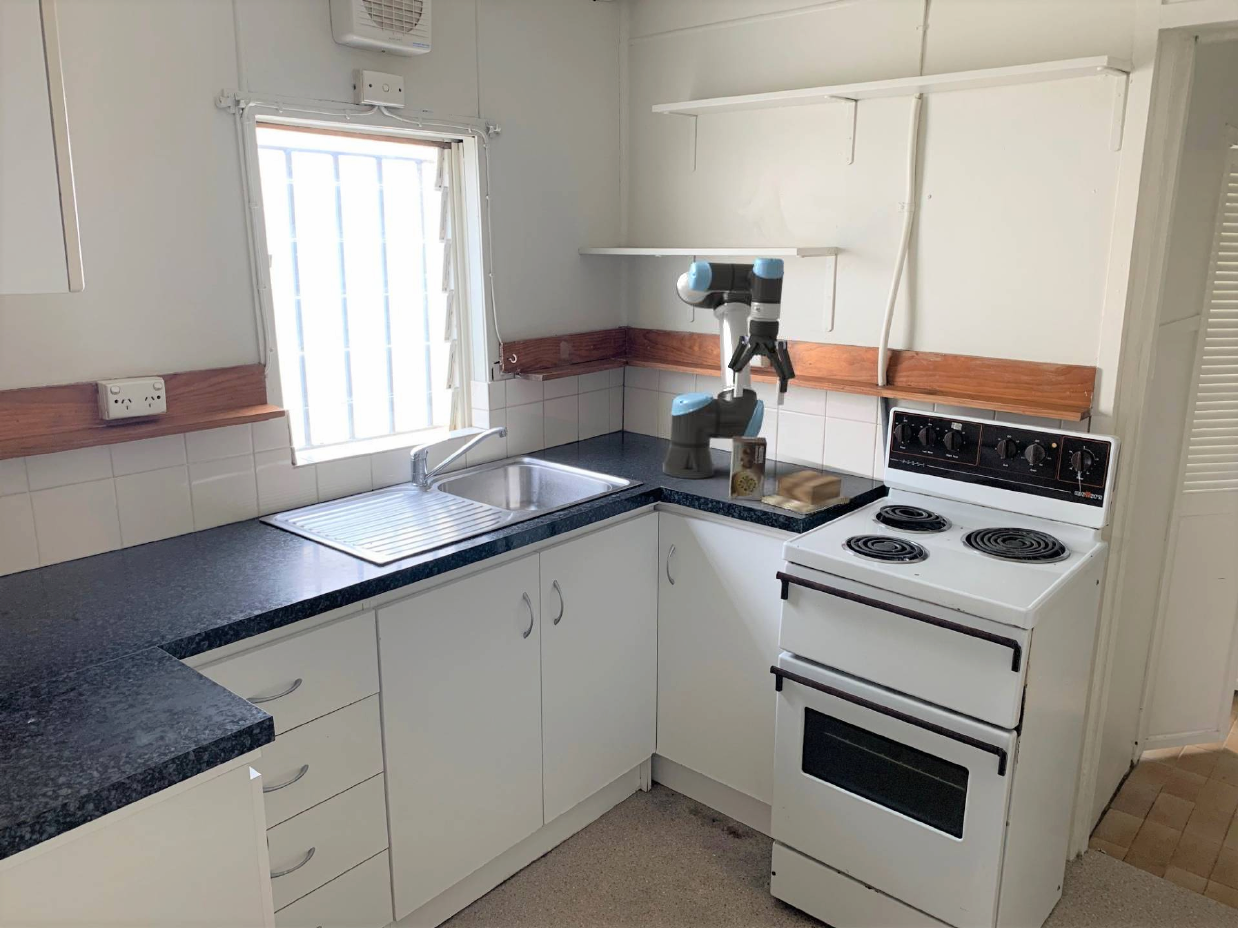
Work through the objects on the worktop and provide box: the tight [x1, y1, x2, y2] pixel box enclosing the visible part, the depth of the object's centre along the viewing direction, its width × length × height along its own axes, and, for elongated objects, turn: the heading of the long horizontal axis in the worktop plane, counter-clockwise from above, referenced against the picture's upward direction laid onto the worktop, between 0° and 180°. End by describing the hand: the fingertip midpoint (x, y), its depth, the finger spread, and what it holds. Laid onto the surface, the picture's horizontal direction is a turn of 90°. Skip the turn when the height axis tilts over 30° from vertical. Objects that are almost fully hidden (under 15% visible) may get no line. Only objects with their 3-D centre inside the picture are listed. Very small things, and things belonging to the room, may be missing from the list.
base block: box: [776, 469, 842, 505], centre depth 245 cm, size 11×13×5 cm
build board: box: [761, 492, 851, 513], centre depth 245 cm, size 14×20×2 cm
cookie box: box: [728, 436, 768, 501], centre depth 246 cm, size 9×6×16 cm
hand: (758, 400), depth 241 cm, fingers open, 13 cm apart
